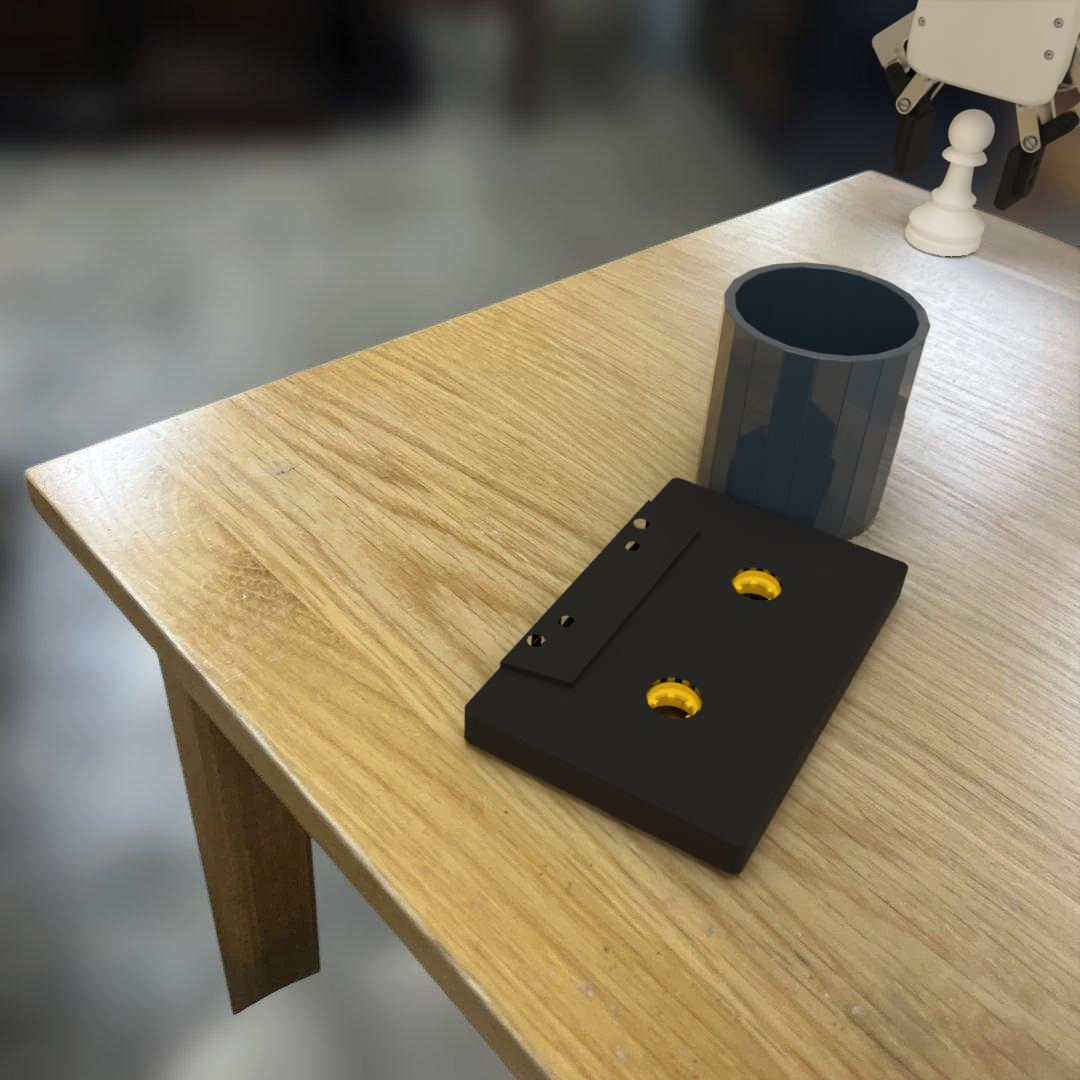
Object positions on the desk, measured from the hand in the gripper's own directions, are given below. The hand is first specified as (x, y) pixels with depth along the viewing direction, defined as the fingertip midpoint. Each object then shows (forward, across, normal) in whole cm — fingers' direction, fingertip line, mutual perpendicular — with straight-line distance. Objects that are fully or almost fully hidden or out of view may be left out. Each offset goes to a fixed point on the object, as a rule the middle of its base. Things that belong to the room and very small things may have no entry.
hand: (956, 184), depth 81 cm
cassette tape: (+4, -12, +45) cm, 47 cm away
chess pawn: (+4, 0, 0) cm, 4 cm away
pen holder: (+4, -8, +32) cm, 33 cm away
